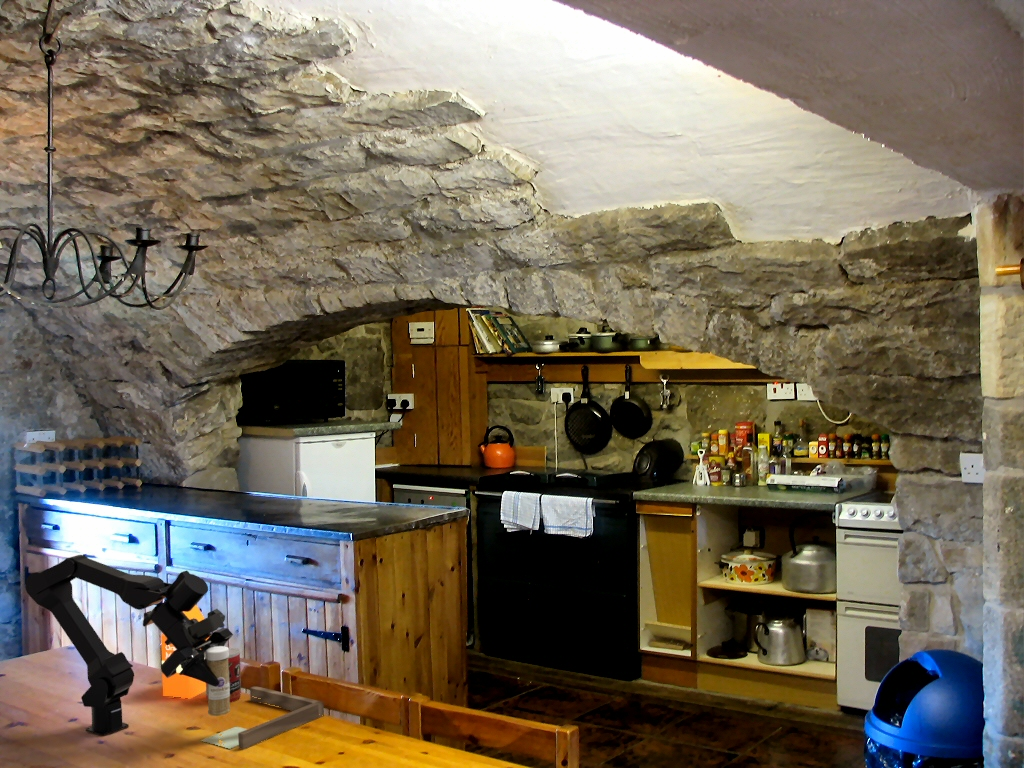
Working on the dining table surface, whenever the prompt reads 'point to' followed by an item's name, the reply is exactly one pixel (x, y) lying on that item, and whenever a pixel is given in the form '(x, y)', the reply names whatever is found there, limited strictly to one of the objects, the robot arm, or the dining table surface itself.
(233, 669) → the canned food
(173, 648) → the orange juice
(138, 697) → the dining table surface
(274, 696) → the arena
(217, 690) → the sprinkles bottle
